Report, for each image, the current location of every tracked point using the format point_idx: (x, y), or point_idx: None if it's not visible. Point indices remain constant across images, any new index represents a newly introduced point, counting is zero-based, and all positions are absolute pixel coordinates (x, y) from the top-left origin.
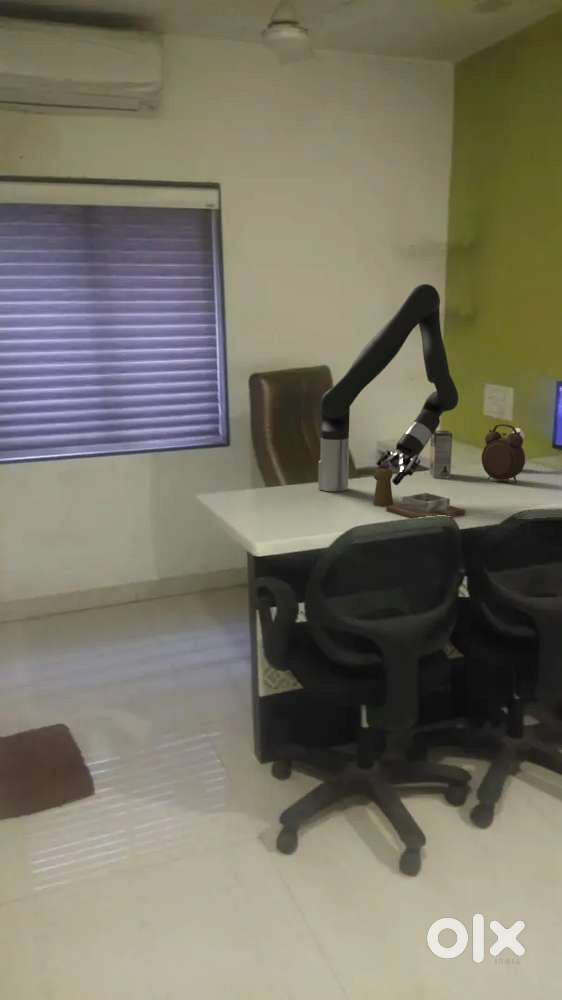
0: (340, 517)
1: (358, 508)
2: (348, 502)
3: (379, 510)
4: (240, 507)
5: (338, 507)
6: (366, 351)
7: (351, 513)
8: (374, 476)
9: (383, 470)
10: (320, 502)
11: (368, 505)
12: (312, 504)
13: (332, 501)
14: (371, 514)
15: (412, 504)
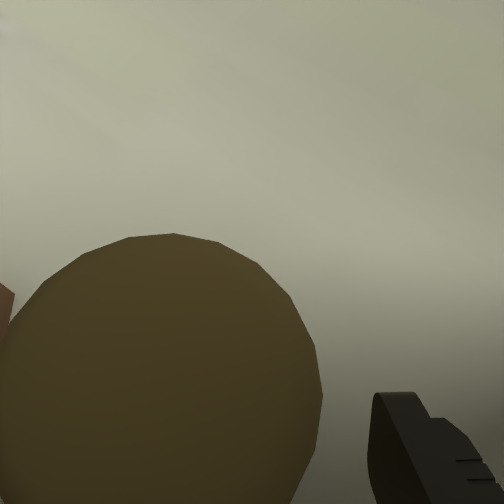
0: (101, 14)
1: (203, 191)
2: (392, 239)
3: None
4: None
5: (297, 115)
6: None
7: (129, 93)
8: (394, 393)
9: (69, 287)
10: (468, 105)
11: None
12: (436, 51)
13: (466, 172)
14: (27, 163)
15: None
